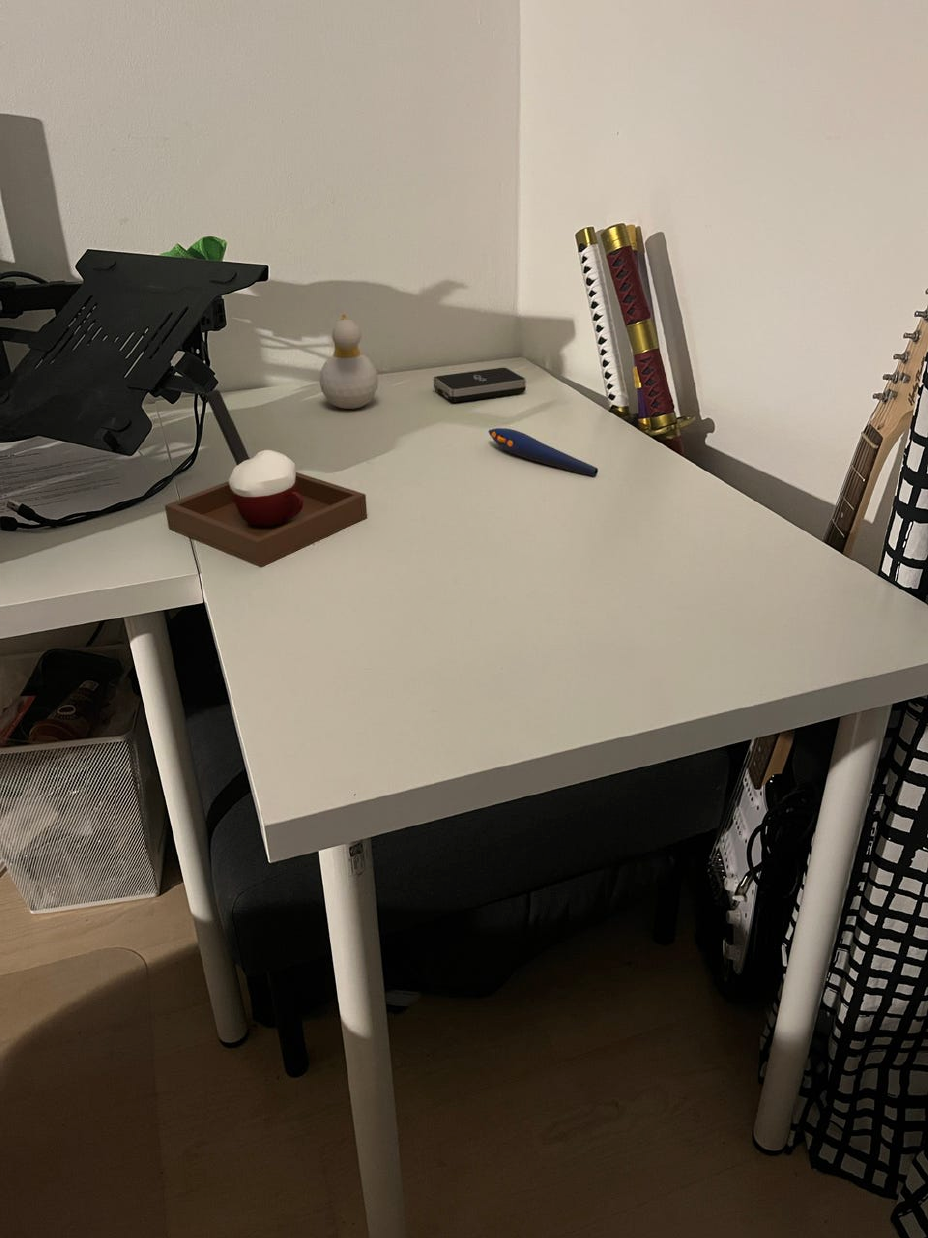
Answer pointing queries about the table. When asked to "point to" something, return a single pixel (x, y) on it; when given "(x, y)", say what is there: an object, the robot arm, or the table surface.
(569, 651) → the table surface
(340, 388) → the white gourd-shaped figure
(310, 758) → the table surface
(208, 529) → the tray
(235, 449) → the cocoa
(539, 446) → the tapered navy handle
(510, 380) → the external hard drive
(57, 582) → the table surface
